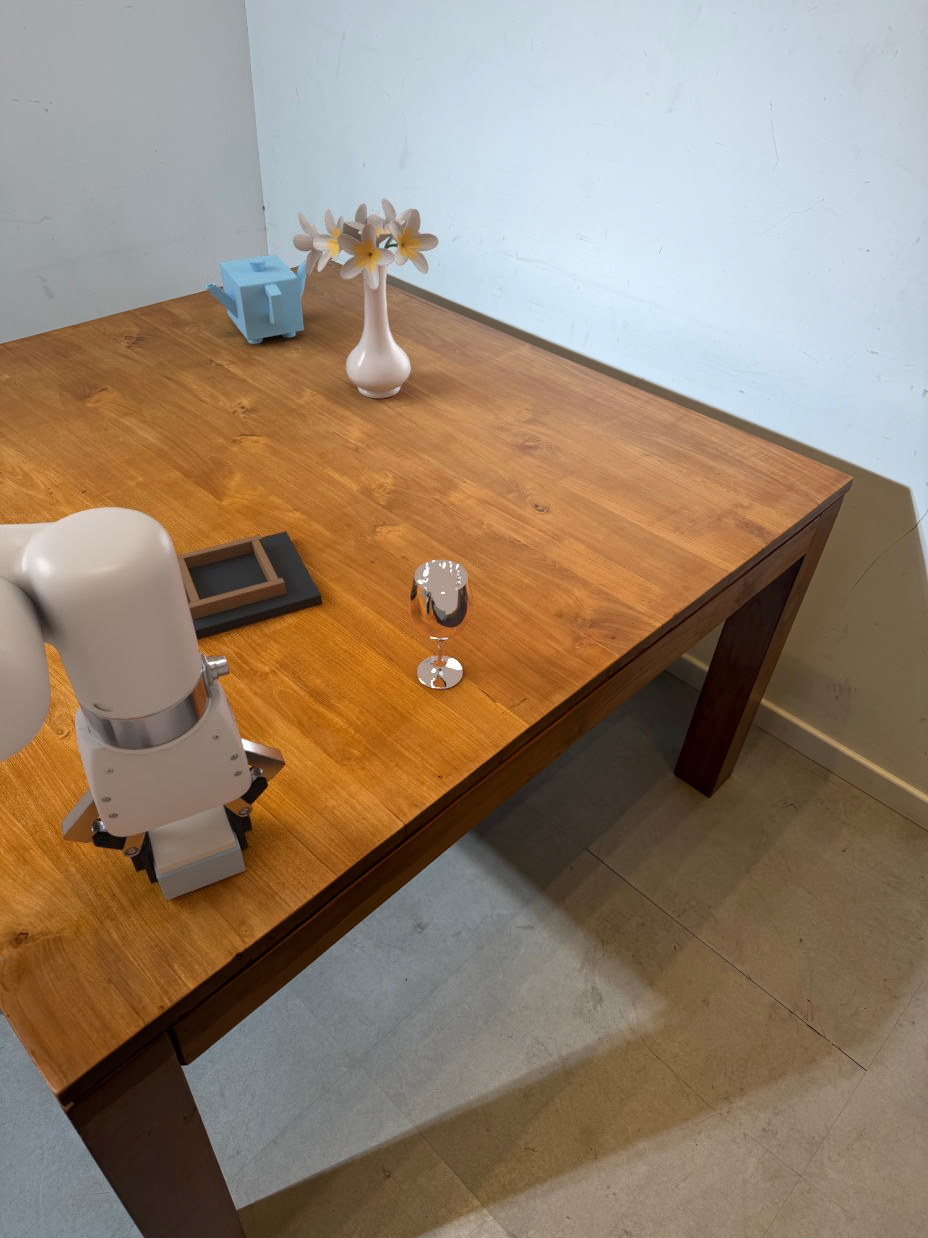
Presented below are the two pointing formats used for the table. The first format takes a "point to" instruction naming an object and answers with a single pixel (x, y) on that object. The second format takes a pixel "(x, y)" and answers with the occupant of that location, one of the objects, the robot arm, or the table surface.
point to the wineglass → (440, 616)
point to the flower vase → (371, 284)
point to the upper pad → (195, 852)
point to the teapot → (262, 296)
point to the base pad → (245, 582)
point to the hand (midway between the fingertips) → (196, 849)
